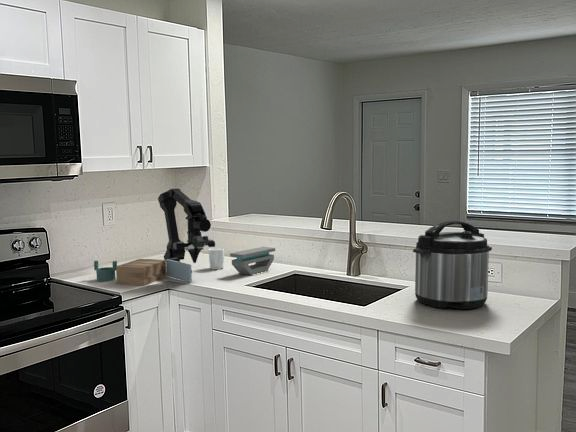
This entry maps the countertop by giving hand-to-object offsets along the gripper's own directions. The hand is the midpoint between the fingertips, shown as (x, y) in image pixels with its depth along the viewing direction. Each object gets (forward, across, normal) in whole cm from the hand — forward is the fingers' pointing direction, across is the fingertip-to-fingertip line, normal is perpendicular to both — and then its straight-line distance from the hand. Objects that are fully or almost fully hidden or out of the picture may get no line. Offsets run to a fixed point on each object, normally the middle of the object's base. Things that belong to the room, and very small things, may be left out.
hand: (194, 262), depth 271 cm
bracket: (+8, -36, +19) cm, 42 cm away
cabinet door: (+7, -7, +2) cm, 10 cm away
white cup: (+8, +18, +19) cm, 27 cm away
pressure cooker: (+7, +72, -90) cm, 116 cm away
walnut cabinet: (+8, -22, +9) cm, 25 cm away
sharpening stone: (+8, +30, 0) cm, 31 cm away
